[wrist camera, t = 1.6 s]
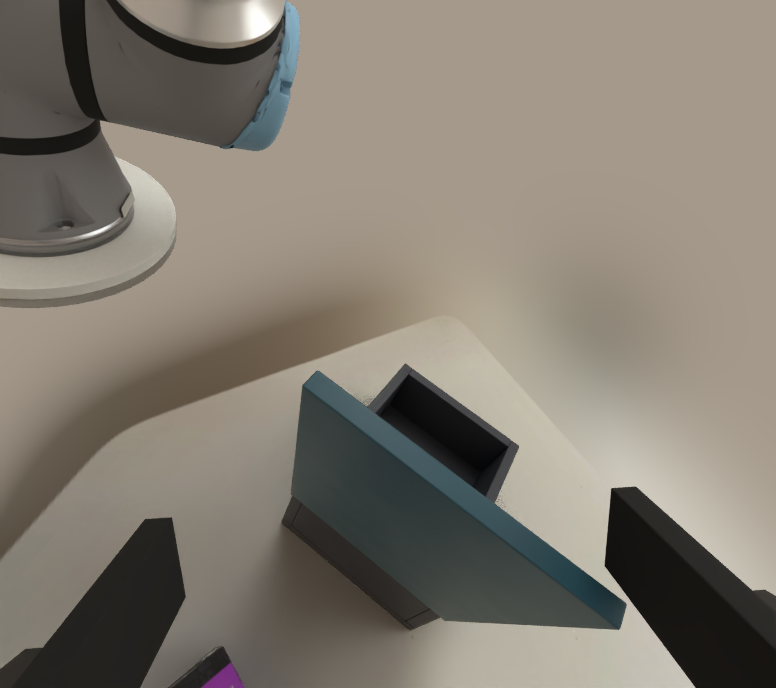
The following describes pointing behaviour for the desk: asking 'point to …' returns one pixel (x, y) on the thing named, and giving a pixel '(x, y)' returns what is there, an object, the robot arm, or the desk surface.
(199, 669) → the box
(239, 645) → the desk surface
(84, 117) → the robot arm
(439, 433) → the case
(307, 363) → the desk surface
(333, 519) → the cover
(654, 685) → the desk surface
